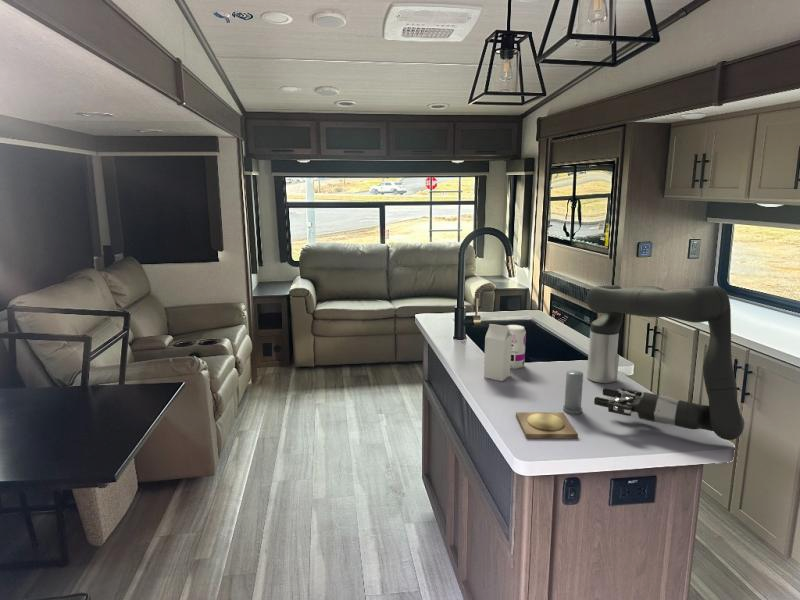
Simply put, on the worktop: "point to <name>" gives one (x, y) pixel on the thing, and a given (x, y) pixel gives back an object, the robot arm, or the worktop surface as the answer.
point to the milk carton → (497, 352)
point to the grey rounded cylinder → (573, 392)
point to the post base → (545, 425)
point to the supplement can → (517, 346)
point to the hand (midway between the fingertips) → (598, 395)
